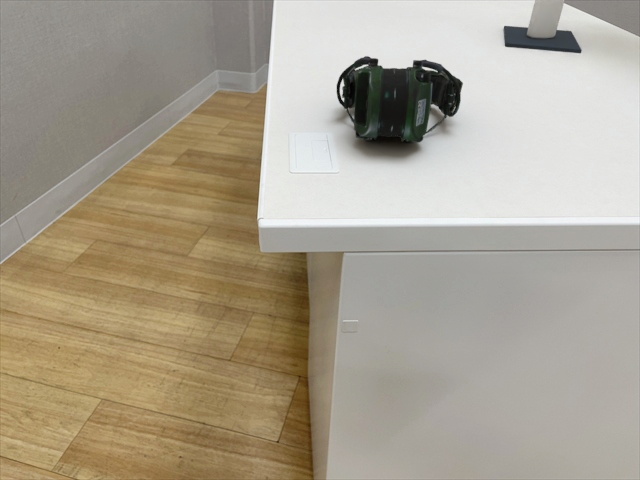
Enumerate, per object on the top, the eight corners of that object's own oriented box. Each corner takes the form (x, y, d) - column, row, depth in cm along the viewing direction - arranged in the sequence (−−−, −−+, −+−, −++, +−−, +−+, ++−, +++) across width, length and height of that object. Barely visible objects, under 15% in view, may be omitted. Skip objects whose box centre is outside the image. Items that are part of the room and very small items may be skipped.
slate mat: (570, 33, 110) (571, 31, 110) (580, 52, 98) (581, 49, 97) (503, 28, 113) (504, 25, 113) (505, 46, 101) (505, 43, 100)
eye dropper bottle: (525, 33, 107) (541, -31, 101) (553, 35, 106) (571, -29, 99) (526, 38, 104) (542, -28, 97) (555, 40, 103) (573, -26, 96)
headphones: (491, 114, 55) (461, 83, 73) (412, 15, 51) (401, 8, 69) (394, 191, 60) (389, 145, 77) (316, 105, 56) (329, 78, 74)
